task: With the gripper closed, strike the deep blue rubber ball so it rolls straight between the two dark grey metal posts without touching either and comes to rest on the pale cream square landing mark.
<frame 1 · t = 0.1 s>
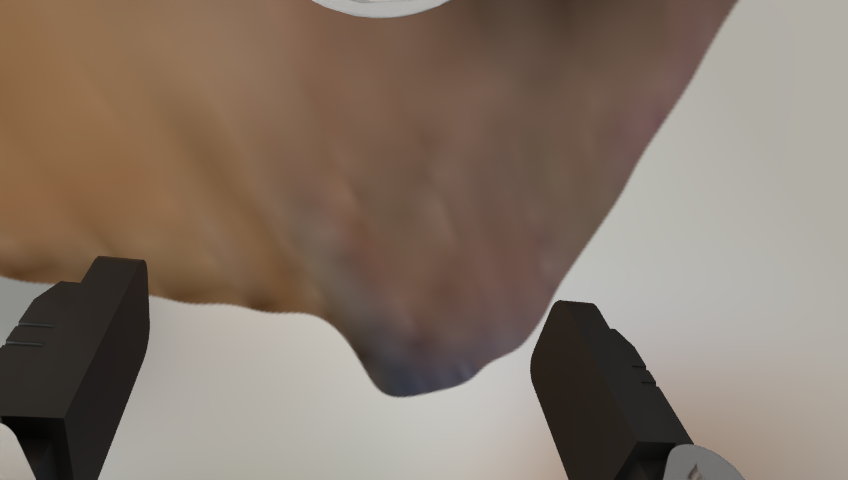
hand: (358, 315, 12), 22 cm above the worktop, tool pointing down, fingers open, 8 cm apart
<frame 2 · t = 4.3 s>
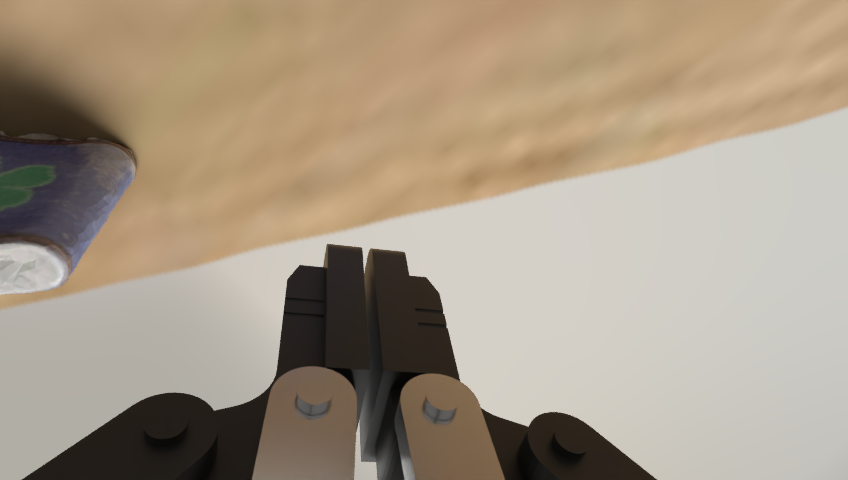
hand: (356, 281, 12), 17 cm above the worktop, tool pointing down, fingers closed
flask: (36, 155, 27), on the worktop
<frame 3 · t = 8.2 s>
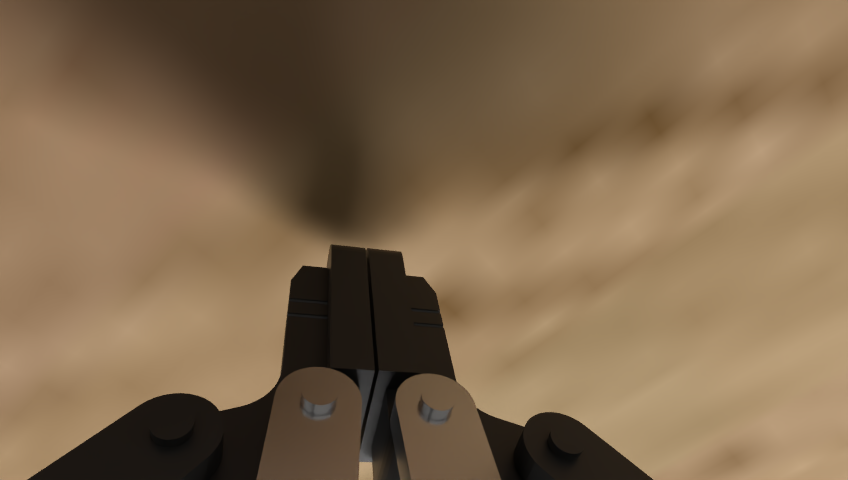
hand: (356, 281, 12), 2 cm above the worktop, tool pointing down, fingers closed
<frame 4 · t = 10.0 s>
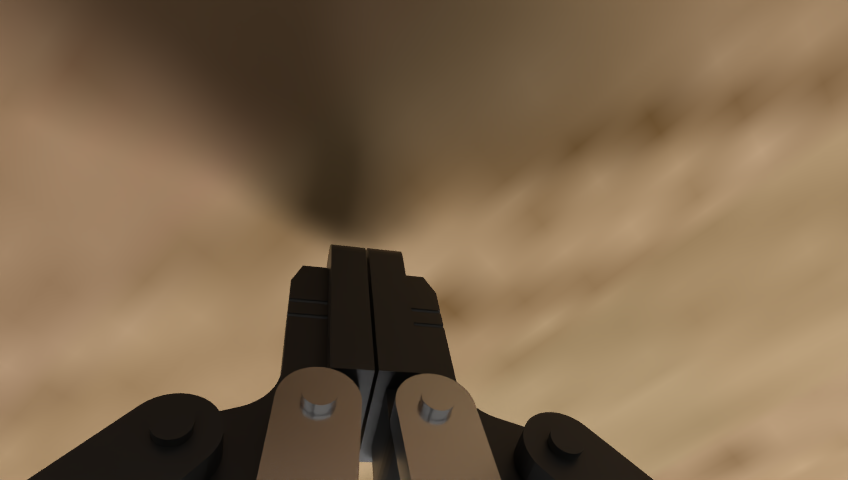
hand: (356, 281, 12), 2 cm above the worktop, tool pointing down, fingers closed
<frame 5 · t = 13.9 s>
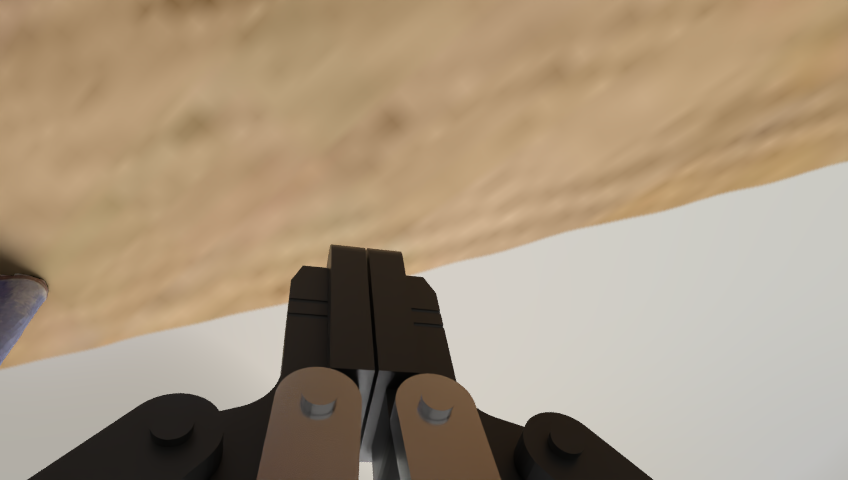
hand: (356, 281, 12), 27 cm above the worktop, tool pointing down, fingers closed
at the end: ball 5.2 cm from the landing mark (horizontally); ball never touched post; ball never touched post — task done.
